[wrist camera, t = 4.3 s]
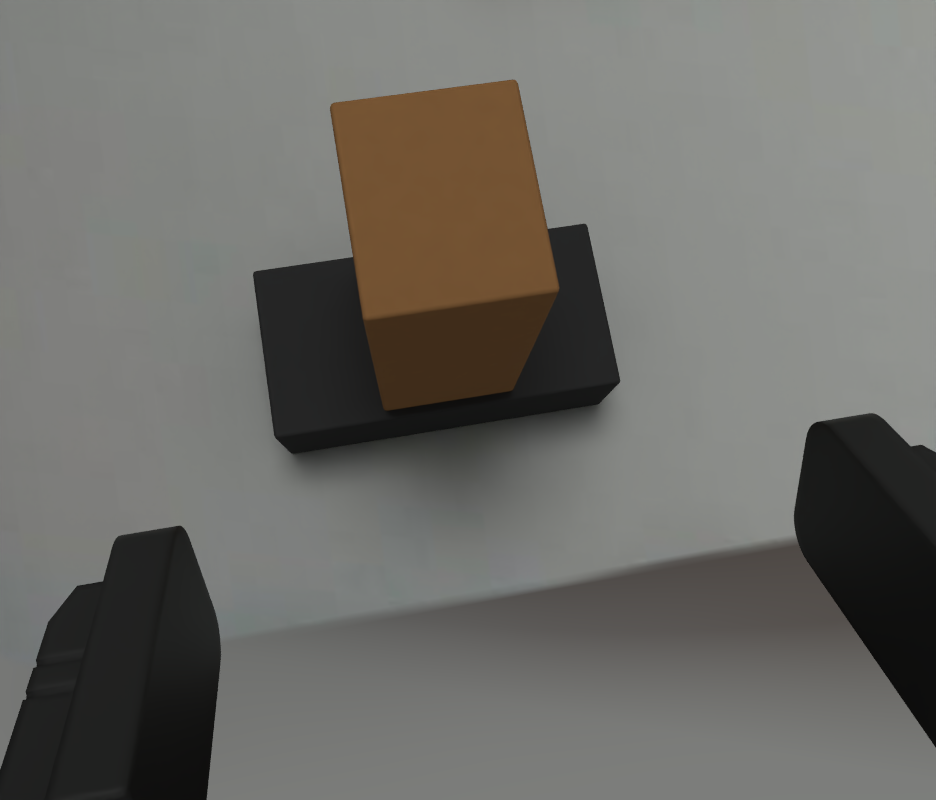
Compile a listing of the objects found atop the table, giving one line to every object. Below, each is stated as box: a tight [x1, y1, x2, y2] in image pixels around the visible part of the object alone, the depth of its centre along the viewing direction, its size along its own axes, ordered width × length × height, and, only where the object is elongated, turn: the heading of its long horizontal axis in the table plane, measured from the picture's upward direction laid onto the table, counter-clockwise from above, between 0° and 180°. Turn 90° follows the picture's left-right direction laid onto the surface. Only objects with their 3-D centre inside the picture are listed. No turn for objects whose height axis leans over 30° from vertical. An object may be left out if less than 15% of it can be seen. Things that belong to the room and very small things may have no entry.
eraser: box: [253, 80, 620, 454], centre depth 18 cm, size 8×4×10 cm, turn 100°
